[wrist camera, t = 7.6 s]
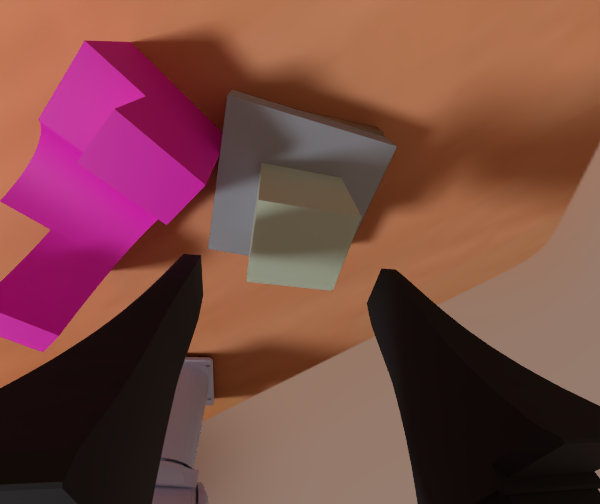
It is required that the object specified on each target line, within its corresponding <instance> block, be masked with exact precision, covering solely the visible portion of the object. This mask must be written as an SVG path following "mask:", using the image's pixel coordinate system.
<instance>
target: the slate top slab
mask: <svg viewBox="0 0 600 504" xmlns="http://www.w3.org/2000/svg"><path fill="white" fill-rule="evenodd" d="M396 148H397V146H396V145H395V144H393V143H392V142H391V141H390V140H388V139H387V138H386V137H384V136H381V135H378V134H374V133H371V132H368V131H365V130H361V129H358V128H355V127H352V126H349V125H345V124H342V123H339V122H336V121H332V120H329V119H326V118H323V117H319V116H316V115H313V114H310V113H307V112H303V111H300V110H297V109H294V108H290V107H287V106H284V105H281V104H277V103H274V102H271V101H268V100H265V99H261V98H258V97H255V96H252V95H248V94H245V93H242V92H239V91H235V90H231V91H230V92H229V94H228V95H227V102H226V110H225V118H224V126H223V134H222V142H221V150H220V158H219V166H218V174H217V181H216V189H215V197H214V205H213V213H212V221H211V229H210V237H209V245H208V249H213V250H219V251H224V252H230V253H236V254H242V255H247V256H249V253H250V244H251V234H252V227H253V220H254V213H255V206H256V199H257V192H258V185H259V178H260V171H261V163H266V164H271V165H276V166H282V167H287V168H292V169H298V170H303V171H308V172H314V173H319V174H324V175H329V176H335V177H340V178H342V180H343V182H344V184H345V186H346V188H347V190H348V192H349V194H350V196H351V197H352V199H353V201H354V203H355V205H356V207H357V209H358V211H359V213H360V215H361V216H362V217H361V220H360V222H359V225H358V227H357V230H358V228H359V226H360V224H361V222H362V219H363V217H364V215H365V213H366V211H367V209H368V207H369V205H370V203H371V200H372V198H373V196H374V194H375V192H376V190H377V188H378V186H379V184H380V182H381V179H382V177H383V175H384V173H385V171H386V169H387V167H388V165H389V163H390V161H391V158H392V156H393V154H394V152H395V150H396ZM357 230H356V232H357ZM356 232H355V234H356ZM354 236H355V235H354ZM353 238H354V237H353Z"/></svg>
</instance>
